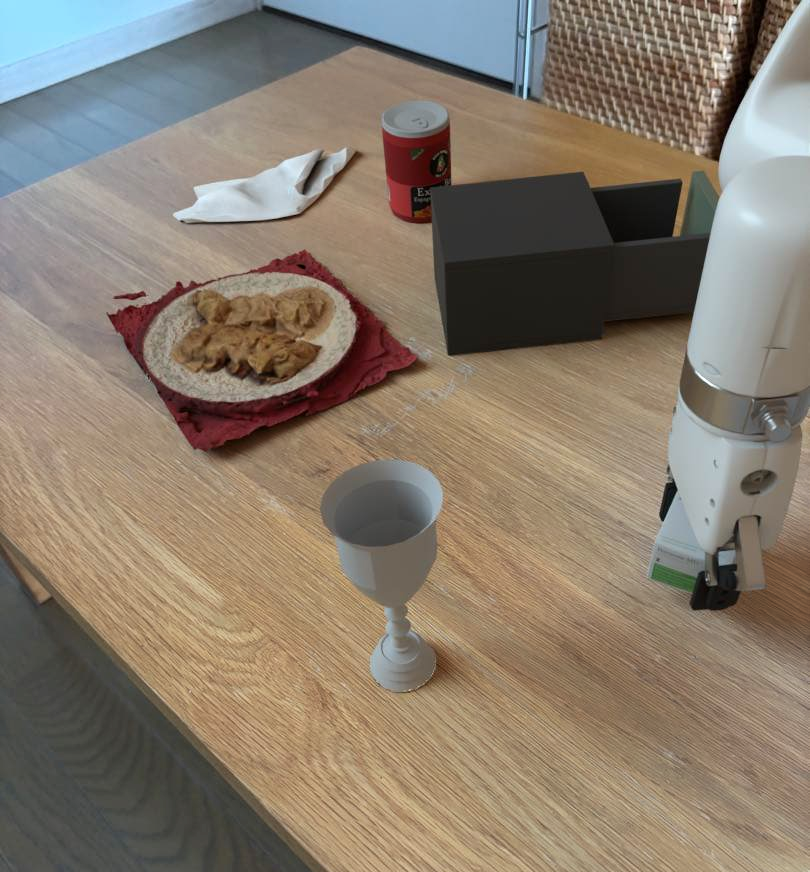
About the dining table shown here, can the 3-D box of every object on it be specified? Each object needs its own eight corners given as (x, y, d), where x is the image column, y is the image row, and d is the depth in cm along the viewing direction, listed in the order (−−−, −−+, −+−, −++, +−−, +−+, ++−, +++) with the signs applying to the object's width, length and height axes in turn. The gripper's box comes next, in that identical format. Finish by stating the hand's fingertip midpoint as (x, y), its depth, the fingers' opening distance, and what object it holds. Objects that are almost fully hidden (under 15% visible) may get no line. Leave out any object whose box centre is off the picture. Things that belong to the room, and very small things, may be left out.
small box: (643, 581, 65) (652, 540, 61) (668, 527, 68) (678, 485, 64) (720, 608, 63) (734, 568, 59) (742, 551, 66) (756, 510, 62)
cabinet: (574, 263, 95) (583, 171, 87) (602, 339, 87) (614, 244, 78) (434, 278, 95) (430, 187, 87) (447, 355, 87) (444, 262, 79)
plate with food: (201, 467, 79) (192, 441, 77) (110, 323, 93) (99, 296, 91) (421, 372, 86) (420, 344, 84) (305, 251, 100) (301, 224, 98)
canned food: (419, 231, 102) (413, 139, 93) (375, 207, 106) (366, 116, 97) (466, 206, 104) (464, 114, 96) (422, 183, 109) (417, 93, 100)
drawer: (726, 243, 94) (746, 165, 87) (766, 311, 86) (790, 231, 79) (555, 261, 94) (561, 185, 87) (579, 331, 86) (587, 252, 80)
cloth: (188, 247, 103) (183, 230, 101) (163, 195, 111) (158, 178, 109) (389, 190, 108) (388, 173, 106) (351, 145, 116) (349, 128, 115)
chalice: (374, 719, 61) (344, 564, 48) (341, 646, 66) (303, 484, 52) (467, 680, 63) (463, 519, 49) (428, 611, 67) (415, 444, 53)
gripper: (873, 479, 45) (786, 653, 59) (761, 284, 56) (710, 469, 70) (730, 496, 45) (677, 666, 59) (646, 298, 56) (618, 480, 70)
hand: (695, 558), depth 64 cm, fingers closed on small box, 7 cm apart
